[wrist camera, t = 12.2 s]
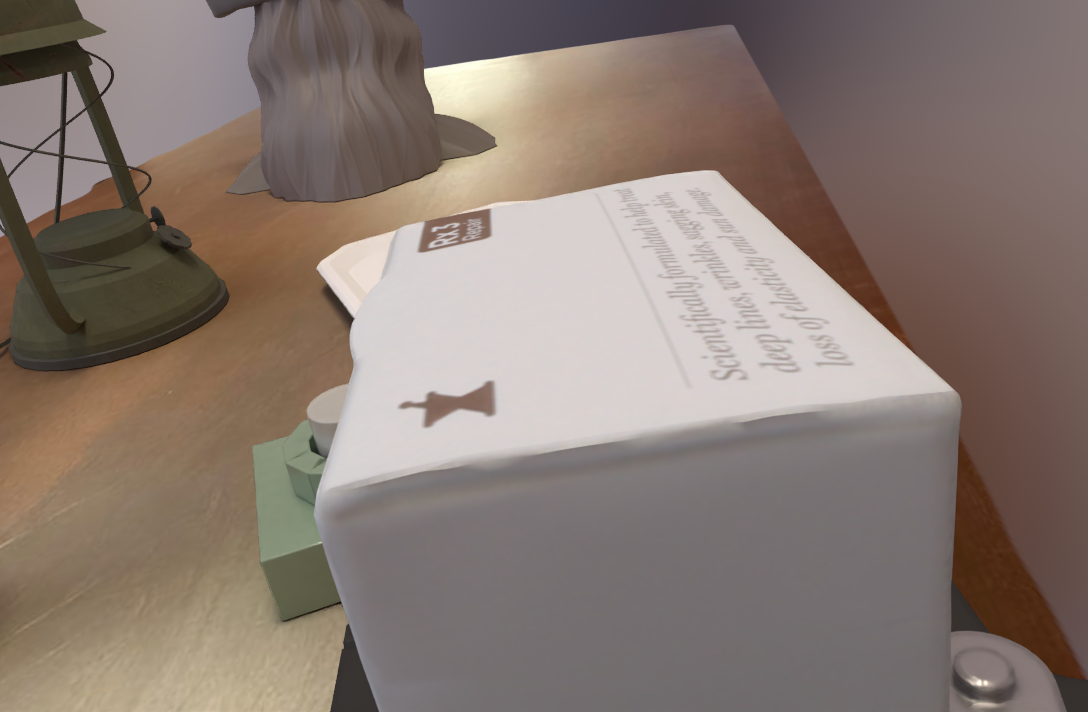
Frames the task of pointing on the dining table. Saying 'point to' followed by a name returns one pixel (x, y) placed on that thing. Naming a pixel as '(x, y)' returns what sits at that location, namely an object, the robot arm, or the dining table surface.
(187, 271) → the lantern
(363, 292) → the plate
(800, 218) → the dining table surface
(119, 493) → the dining table surface
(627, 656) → the cosmetic box
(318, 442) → the white cylinder
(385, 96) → the bust
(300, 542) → the green base with knob
